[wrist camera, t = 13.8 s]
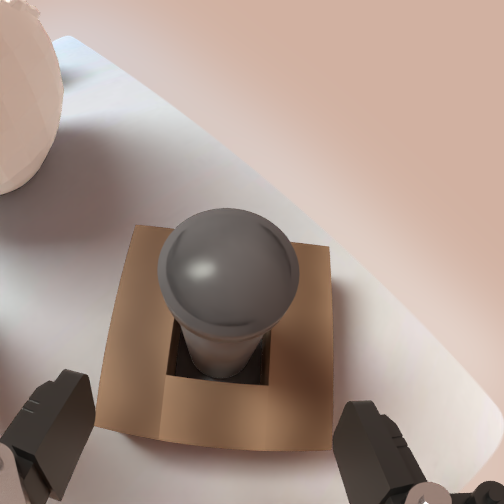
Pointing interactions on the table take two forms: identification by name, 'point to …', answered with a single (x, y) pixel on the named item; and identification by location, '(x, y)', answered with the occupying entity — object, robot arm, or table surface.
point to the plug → (227, 285)
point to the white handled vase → (26, 94)
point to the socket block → (212, 392)
